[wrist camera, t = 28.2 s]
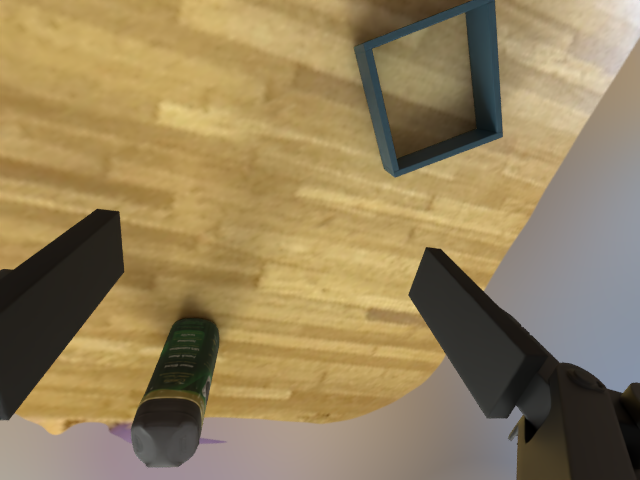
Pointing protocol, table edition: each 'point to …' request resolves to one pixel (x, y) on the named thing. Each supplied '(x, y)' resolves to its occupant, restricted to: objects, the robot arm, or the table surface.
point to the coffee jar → (176, 395)
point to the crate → (483, 83)
